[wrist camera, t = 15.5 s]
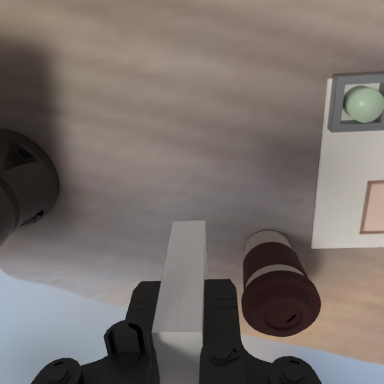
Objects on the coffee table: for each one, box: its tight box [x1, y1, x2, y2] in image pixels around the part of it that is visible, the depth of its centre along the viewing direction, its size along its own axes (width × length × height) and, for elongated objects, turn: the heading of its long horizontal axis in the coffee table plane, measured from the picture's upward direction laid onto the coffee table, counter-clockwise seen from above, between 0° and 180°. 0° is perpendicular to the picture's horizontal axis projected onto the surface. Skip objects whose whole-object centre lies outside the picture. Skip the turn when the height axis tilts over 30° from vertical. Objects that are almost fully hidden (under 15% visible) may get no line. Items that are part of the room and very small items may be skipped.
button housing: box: [327, 72, 384, 133], centre depth 46 cm, size 7×7×2 cm
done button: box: [342, 85, 384, 123], centre depth 45 cm, size 4×4×3 cm
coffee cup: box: [241, 230, 321, 337], centre depth 51 cm, size 10×10×15 cm
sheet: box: [311, 78, 384, 249], centre depth 51 cm, size 18×26×1 cm
